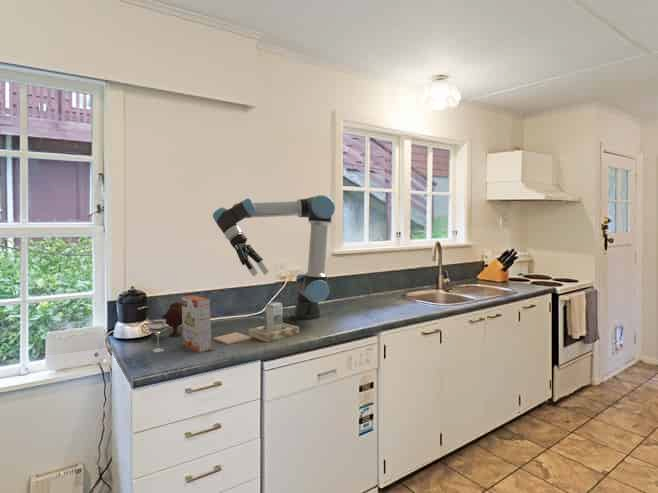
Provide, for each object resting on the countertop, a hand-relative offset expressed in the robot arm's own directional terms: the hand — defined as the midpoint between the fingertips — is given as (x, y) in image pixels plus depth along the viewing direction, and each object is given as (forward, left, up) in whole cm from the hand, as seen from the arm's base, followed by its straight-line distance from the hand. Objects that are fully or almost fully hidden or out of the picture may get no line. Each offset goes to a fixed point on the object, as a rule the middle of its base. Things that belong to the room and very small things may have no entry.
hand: (261, 273), depth 191 cm
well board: (-1, +7, -27) cm, 28 cm away
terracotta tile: (+16, -1, -27) cm, 32 cm away
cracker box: (+33, -1, -28) cm, 43 cm away
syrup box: (-1, +7, -28) cm, 29 cm away
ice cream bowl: (+30, -26, -28) cm, 48 cm away
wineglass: (+45, -10, -28) cm, 54 cm away
